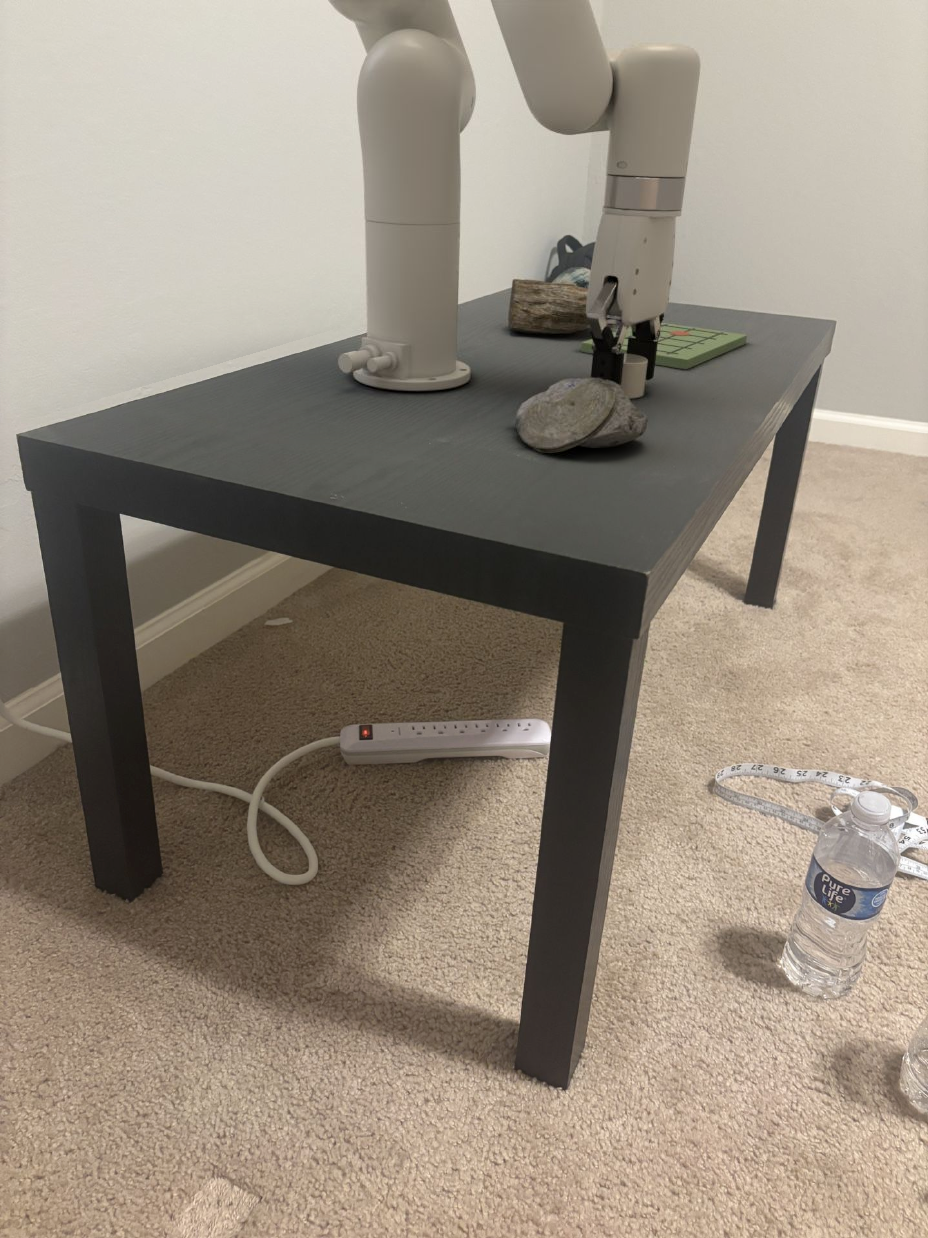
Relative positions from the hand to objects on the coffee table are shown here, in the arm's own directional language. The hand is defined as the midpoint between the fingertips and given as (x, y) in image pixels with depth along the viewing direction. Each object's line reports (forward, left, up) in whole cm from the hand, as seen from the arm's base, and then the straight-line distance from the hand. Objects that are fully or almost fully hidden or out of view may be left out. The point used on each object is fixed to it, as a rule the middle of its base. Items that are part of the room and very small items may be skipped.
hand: (622, 382), depth 94 cm
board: (+25, +6, -1) cm, 26 cm away
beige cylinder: (0, 0, -1) cm, 1 cm away
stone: (+24, +22, -1) cm, 33 cm away
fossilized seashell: (-18, -5, -1) cm, 19 cm away
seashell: (+40, +27, -1) cm, 48 cm away
